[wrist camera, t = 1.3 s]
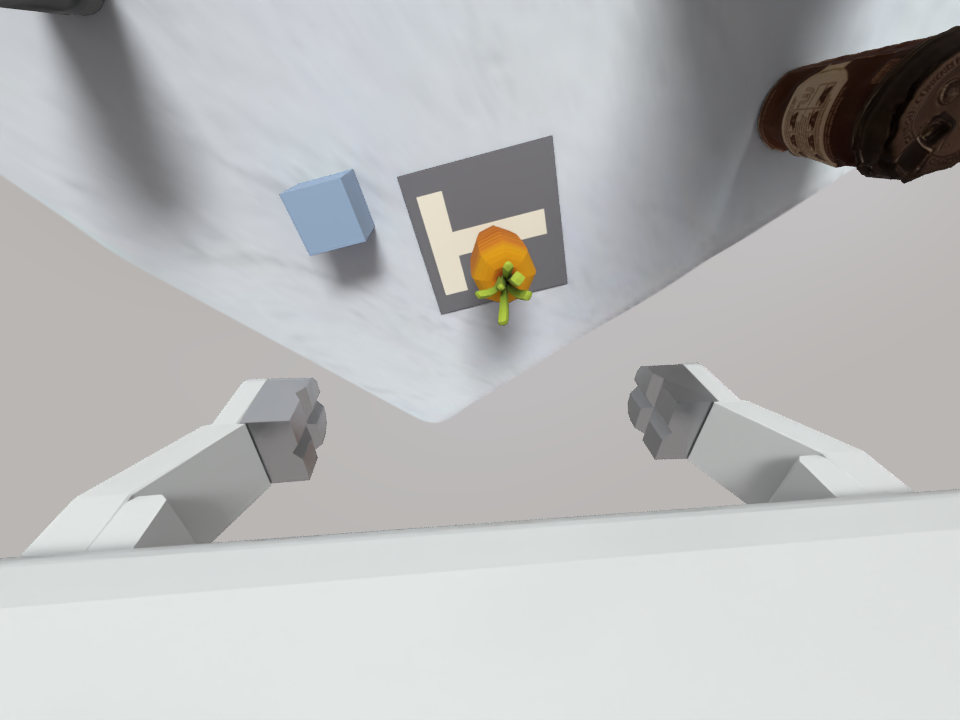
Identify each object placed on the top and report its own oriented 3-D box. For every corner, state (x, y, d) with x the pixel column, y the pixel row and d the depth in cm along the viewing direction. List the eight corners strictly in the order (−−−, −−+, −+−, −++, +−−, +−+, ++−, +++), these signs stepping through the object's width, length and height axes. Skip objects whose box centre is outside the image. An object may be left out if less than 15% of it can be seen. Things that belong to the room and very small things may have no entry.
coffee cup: (742, 181, 36) (868, 213, 26) (736, 84, 32) (886, 73, 21) (840, 135, 35) (1018, 148, 24) (848, 26, 30) (1071, -18, 19)
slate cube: (353, 168, 33) (340, 177, 29) (374, 225, 36) (365, 241, 32) (299, 183, 33) (279, 194, 29) (325, 238, 36) (309, 255, 32)
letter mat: (551, 135, 33) (552, 135, 33) (567, 282, 41) (567, 283, 41) (397, 177, 34) (397, 177, 34) (441, 313, 42) (441, 314, 41)
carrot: (492, 269, 39) (514, 346, 27) (454, 238, 37) (460, 305, 25) (525, 232, 37) (567, 295, 25) (488, 197, 35) (512, 247, 23)
